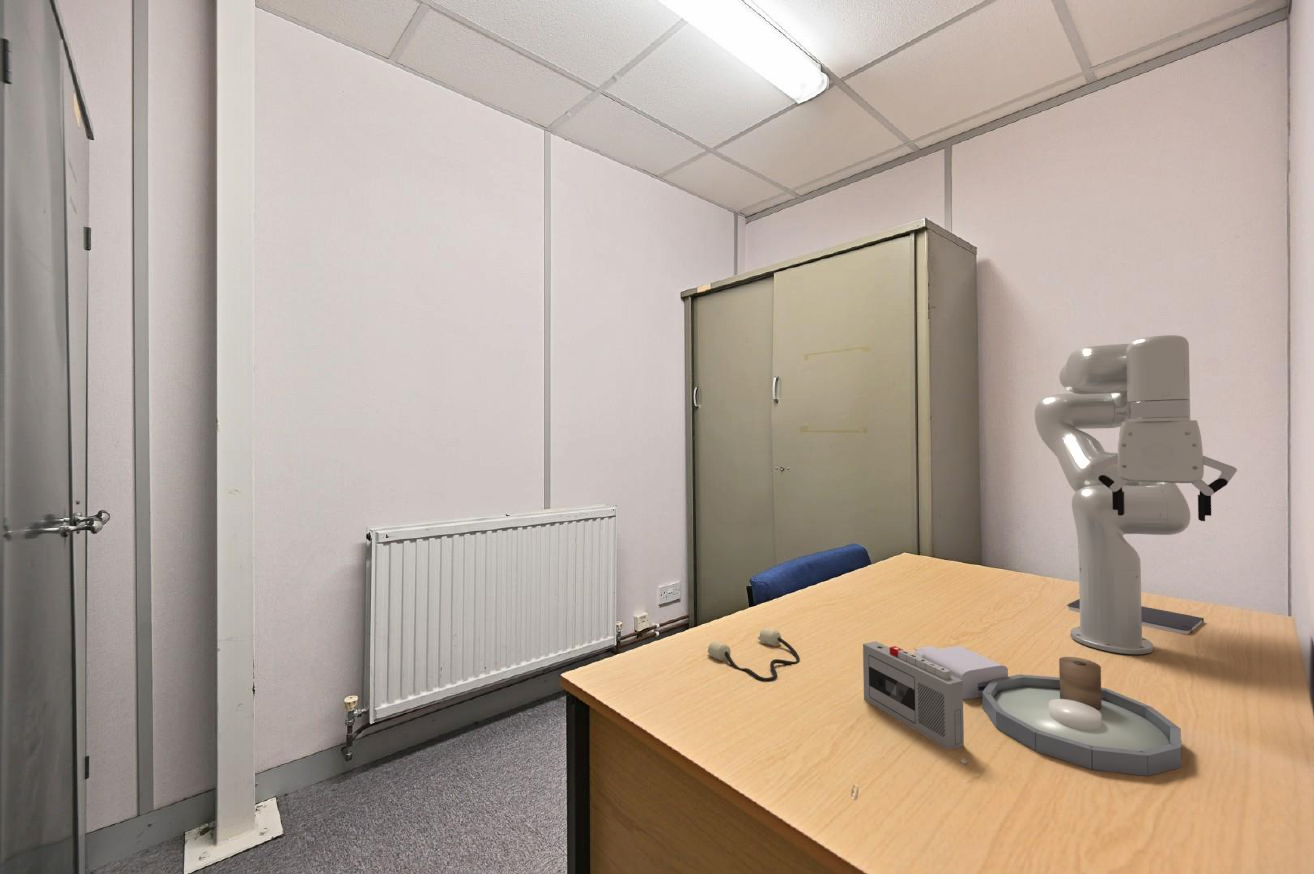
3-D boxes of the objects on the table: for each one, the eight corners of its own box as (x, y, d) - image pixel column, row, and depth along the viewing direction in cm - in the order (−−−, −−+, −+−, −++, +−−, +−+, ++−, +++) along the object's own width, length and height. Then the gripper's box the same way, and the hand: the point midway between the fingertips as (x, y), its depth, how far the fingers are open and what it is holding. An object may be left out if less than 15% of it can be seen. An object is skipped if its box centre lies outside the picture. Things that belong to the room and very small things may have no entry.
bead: (1062, 691, 86) (1061, 653, 86) (1102, 701, 82) (1102, 662, 82) (1057, 703, 82) (1056, 663, 82) (1099, 714, 79) (1099, 673, 79)
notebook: (1203, 624, 118) (1085, 601, 136) (1203, 617, 118) (1085, 595, 136) (1188, 637, 111) (1065, 611, 129) (1188, 630, 111) (1065, 604, 129)
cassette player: (863, 699, 87) (862, 637, 87) (876, 696, 88) (875, 635, 88) (949, 751, 72) (948, 676, 72) (963, 746, 73) (962, 673, 73)
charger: (938, 657, 103) (1008, 693, 88) (897, 663, 100) (962, 701, 86) (938, 632, 103) (1008, 664, 88) (897, 638, 100) (962, 671, 86)
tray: (1003, 678, 93) (1003, 663, 93) (1180, 723, 78) (1180, 706, 78) (968, 729, 77) (967, 711, 77) (1181, 798, 62) (1181, 776, 62)
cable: (825, 665, 101) (825, 647, 101) (760, 688, 92) (760, 668, 92) (766, 639, 114) (766, 623, 114) (705, 657, 105) (705, 640, 105)
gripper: (1087, 414, 91) (1089, 515, 91) (1237, 409, 79) (1239, 525, 79) (1092, 415, 97) (1094, 510, 97) (1233, 410, 85) (1235, 519, 85)
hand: (1159, 517), depth 88 cm, fingers open, 9 cm apart
